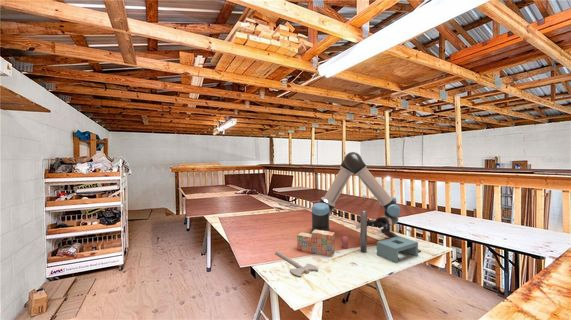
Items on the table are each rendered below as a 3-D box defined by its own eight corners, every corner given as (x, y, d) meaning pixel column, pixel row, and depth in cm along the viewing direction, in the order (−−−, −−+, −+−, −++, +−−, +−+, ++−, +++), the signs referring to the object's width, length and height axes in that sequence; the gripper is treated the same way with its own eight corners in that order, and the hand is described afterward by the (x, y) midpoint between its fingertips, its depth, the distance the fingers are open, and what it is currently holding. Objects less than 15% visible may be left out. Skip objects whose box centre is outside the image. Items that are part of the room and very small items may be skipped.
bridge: (395, 262, 127) (395, 248, 127) (376, 254, 138) (376, 241, 137) (417, 255, 137) (418, 242, 137) (398, 248, 148) (398, 235, 147)
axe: (266, 257, 136) (266, 253, 136) (286, 251, 143) (286, 247, 143) (298, 280, 111) (298, 274, 111) (321, 271, 119) (321, 267, 119)
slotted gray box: (420, 258, 142) (421, 250, 141) (417, 258, 141) (418, 250, 141) (382, 231, 180) (383, 225, 180) (380, 232, 180) (380, 225, 180)
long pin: (361, 252, 141) (362, 211, 140) (359, 250, 144) (359, 210, 144) (367, 252, 141) (368, 211, 141) (365, 250, 145) (365, 210, 144)
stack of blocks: (297, 250, 144) (297, 230, 144) (301, 246, 150) (301, 227, 150) (332, 257, 135) (332, 235, 135) (334, 253, 141) (335, 232, 140)
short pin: (342, 248, 147) (342, 238, 147) (340, 246, 150) (340, 236, 150) (348, 248, 147) (348, 237, 147) (346, 246, 151) (346, 236, 150)
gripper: (403, 232, 149) (387, 240, 134) (365, 224, 167) (348, 230, 153) (403, 220, 149) (387, 227, 134) (366, 213, 167) (348, 218, 153)
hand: (366, 229), depth 143 cm, fingers open, 13 cm apart
